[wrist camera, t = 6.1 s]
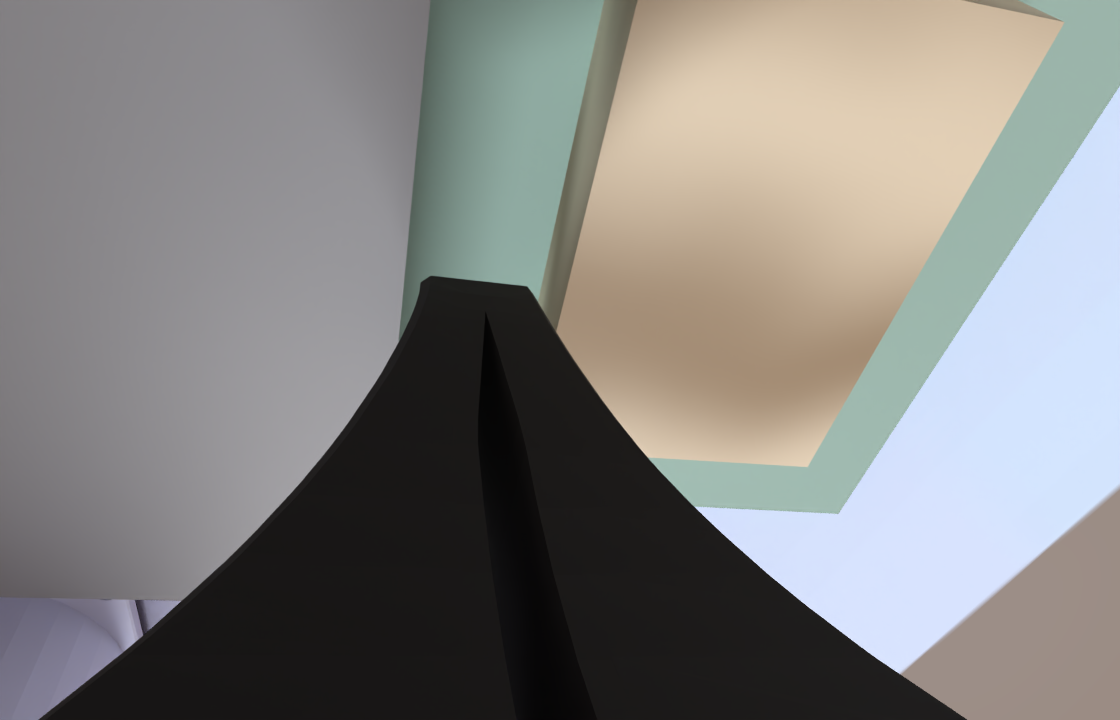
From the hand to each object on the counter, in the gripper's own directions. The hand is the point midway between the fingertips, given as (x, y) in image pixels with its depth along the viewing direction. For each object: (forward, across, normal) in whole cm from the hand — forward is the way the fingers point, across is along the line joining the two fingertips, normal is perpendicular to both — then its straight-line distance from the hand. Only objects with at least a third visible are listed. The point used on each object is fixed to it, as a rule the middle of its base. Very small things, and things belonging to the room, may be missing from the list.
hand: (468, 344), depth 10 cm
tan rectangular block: (+2, -5, 0) cm, 5 cm away
